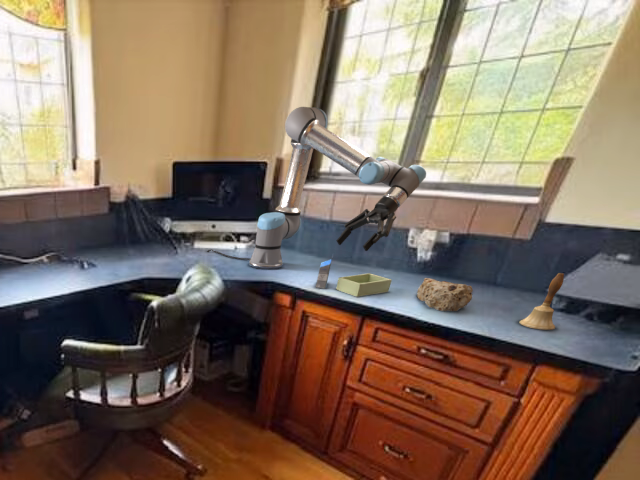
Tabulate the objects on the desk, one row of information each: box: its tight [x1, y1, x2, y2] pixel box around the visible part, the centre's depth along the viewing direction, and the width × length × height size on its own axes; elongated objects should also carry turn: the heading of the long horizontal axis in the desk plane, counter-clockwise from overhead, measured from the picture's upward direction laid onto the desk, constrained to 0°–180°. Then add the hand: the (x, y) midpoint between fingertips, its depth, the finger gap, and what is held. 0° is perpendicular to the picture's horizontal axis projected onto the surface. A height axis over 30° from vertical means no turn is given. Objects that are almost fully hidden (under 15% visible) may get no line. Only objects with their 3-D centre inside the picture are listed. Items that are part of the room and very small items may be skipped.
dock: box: [335, 273, 392, 298], centre depth 163 cm, size 11×16×5 cm
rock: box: [416, 277, 474, 312], centre depth 147 cm, size 21×14×10 cm
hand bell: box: [519, 272, 565, 331], centre depth 125 cm, size 8×8×16 cm
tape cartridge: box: [315, 252, 335, 290], centre depth 169 cm, size 9×4×12 cm, turn 154°
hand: (350, 245), depth 168 cm, fingers open, 13 cm apart
